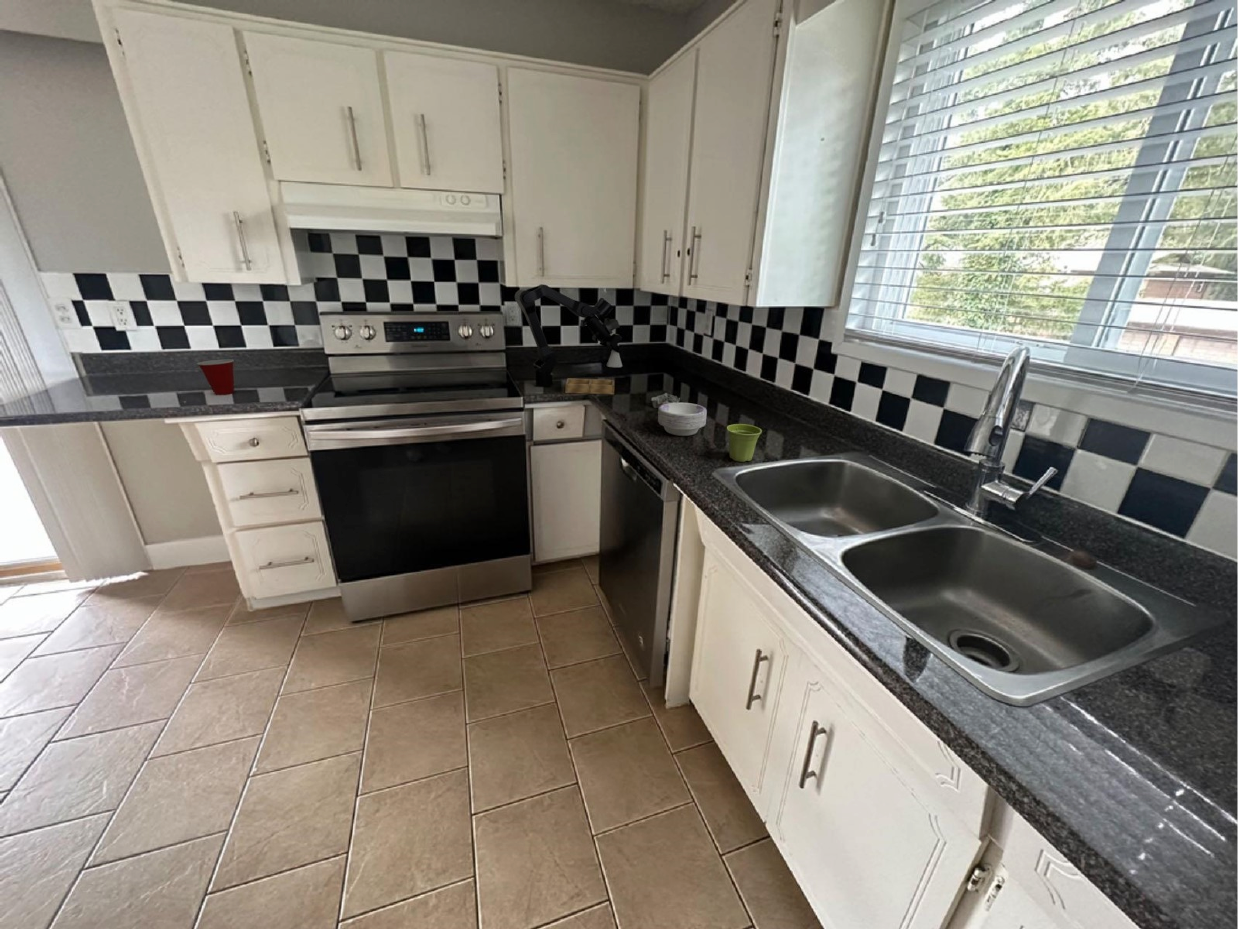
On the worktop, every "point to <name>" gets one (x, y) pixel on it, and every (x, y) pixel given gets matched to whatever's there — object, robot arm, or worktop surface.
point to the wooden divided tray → (589, 386)
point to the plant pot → (742, 441)
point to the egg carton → (664, 400)
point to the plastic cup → (219, 375)
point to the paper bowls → (682, 418)
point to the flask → (614, 359)
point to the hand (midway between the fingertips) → (617, 351)
